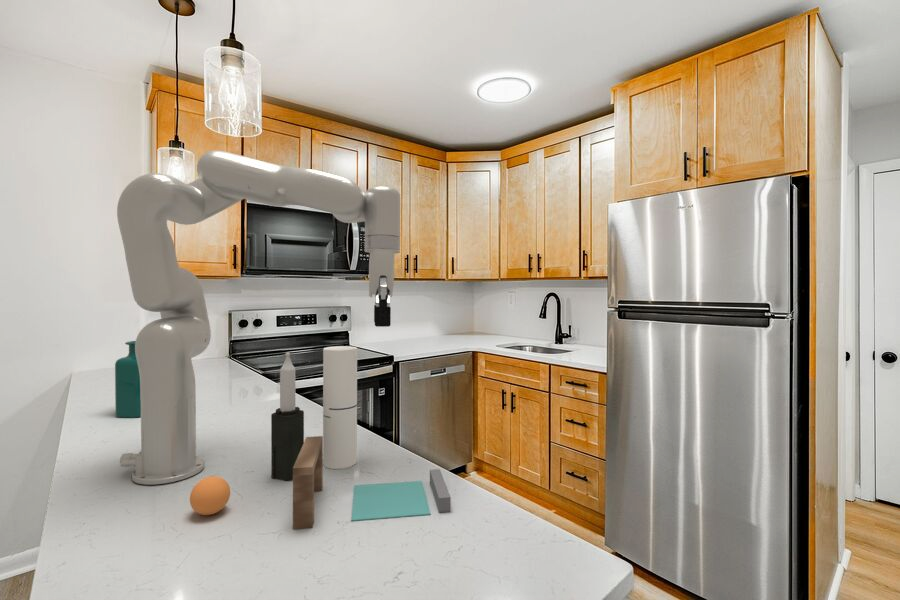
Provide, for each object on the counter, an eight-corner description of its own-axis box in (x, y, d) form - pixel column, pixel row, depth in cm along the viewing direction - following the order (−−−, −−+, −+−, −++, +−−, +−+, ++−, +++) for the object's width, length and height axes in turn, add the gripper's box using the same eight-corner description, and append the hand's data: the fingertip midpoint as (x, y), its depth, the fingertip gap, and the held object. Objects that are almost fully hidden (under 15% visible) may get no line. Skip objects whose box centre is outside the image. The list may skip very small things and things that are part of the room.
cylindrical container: (348, 470, 93) (348, 351, 92) (317, 467, 95) (317, 349, 94) (361, 457, 100) (362, 346, 99) (332, 455, 101) (332, 345, 101)
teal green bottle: (140, 418, 129) (140, 342, 128) (111, 417, 129) (111, 342, 128) (163, 409, 139) (162, 338, 138) (136, 408, 139) (135, 338, 138)
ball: (183, 523, 72) (183, 486, 71) (197, 505, 78) (197, 471, 77) (223, 520, 73) (223, 484, 73) (234, 503, 79) (234, 469, 78)
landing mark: (351, 521, 73) (351, 519, 73) (354, 486, 86) (354, 485, 86) (430, 514, 75) (430, 513, 75) (421, 481, 88) (421, 480, 88)
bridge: (292, 529, 70) (292, 468, 70) (306, 487, 85) (306, 436, 85) (312, 527, 71) (312, 467, 71) (322, 486, 86) (322, 436, 85)
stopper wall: (438, 512, 76) (438, 498, 76) (429, 482, 88) (429, 469, 88) (450, 511, 76) (450, 497, 76) (439, 481, 88) (439, 469, 88)
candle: (306, 471, 92) (306, 351, 92) (289, 481, 87) (289, 354, 87) (286, 468, 94) (285, 350, 93) (268, 478, 89) (268, 353, 88)
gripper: (365, 248, 104) (364, 321, 105) (364, 241, 87) (364, 328, 88) (397, 249, 106) (396, 321, 106) (402, 242, 89) (402, 327, 89)
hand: (381, 324), depth 97 cm, fingers open, 9 cm apart
